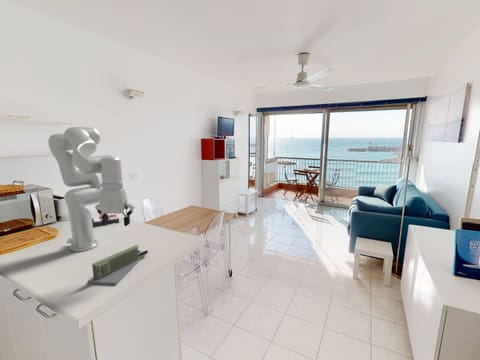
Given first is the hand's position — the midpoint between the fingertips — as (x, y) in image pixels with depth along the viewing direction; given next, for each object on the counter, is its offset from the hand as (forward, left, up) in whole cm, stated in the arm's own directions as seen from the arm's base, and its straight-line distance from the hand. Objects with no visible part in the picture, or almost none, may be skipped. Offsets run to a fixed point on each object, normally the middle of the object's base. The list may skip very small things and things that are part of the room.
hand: (116, 224), depth 102 cm
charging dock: (0, 0, -20) cm, 20 cm away
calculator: (-43, +53, -21) cm, 71 cm away
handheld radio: (+2, -1, -19) cm, 19 cm away
